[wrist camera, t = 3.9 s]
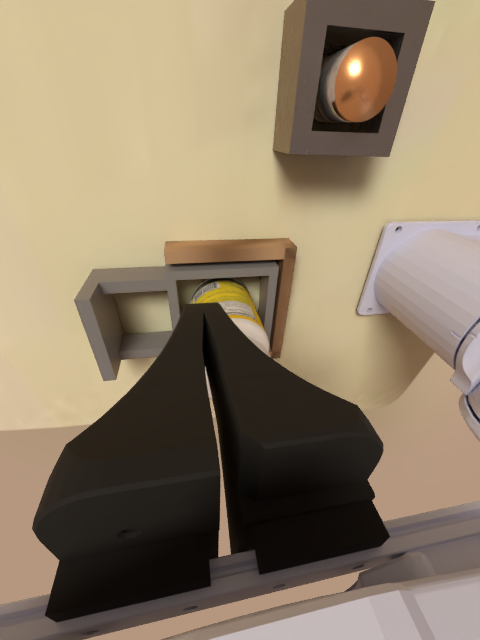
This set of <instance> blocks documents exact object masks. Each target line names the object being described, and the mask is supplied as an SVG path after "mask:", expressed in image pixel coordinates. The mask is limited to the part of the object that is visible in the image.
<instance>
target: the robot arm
mask: <svg viewBox="0 0 480 640" xmlns="http://www.w3.org/2000/svg"><path fill="white" fill-rule="evenodd" d="M397 227H398V230H397V231H395V230H396V228H397ZM367 309H369V310H367ZM357 313H358V314H360V315H373V314H386V313H391V314H393V315H394V316H395V317H396V318H397V319H398V320H399V321H400V322H402V323H403V324H404V325H405V326H406V327H407V328H408V329H409V330H410V331H412V332H413V333H414V334H415V335H416V336H417V337H418V338H419V339H421V340H422V341H423V342H424V343H425V344H426V345H427V346H428V347H430V348H431V349H432V350H433V351H434V352H435V353H436V354H437V355H439V356H440V357H441V358H442V359H443V360H444V361H445V362H447V363H448V364H449V365H450V366H451V367H452V368H453V369H454V370H455V372H454V374H453V376H452V377H451V378H450V381H451V382H452V383H453V384H454V385H455V386H456V387H458V388H459V389H460V390H461V391H462V392H463V394H462V395H461V397H460V399H459V409H460V411H461V414H462V416H463V418H464V420H465V422H466V423H467V425H468V427H469V428H470V430H471V431H472V433H473V434H474V435H475V437H476V438H477V439H478V440H479V441H480V220H449V221H396V222H389V223H387V224H386V225H385V226H384V228H383V231H382V234H381V237H380V240H379V244H378V247H377V250H376V253H375V256H374V259H373V262H372V265H371V268H370V271H369V274H368V277H367V280H366V283H365V286H364V289H363V292H362V295H361V298H360V301H359V305H358V308H357ZM205 367H206V372H207V376H208V381H209V386H210V390H211V395H212V400H213V404H214V409H215V414H216V419H217V425H218V433H219V443H220V451H221V460H222V469H223V478H224V489H225V498H226V508H227V518H228V527H229V538H230V547H231V555H228V556H222V557H218V538H219V537H218V536H219V535H218V534H219V526H220V525H219V523H220V466H219V458H218V449H217V443H216V437H215V431H214V426H213V420H212V413H211V408H210V401H209V395H208V388H207V381H206V374H205ZM382 453H383V442H382V441H381V439H380V438H379V436H378V435H377V433H376V431H375V430H374V428H373V426H372V425H371V423H370V422H369V420H368V419H367V418H366V416H365V415H364V414H363V412H362V411H361V410H360V408H359V407H358V406H357V405H355V404H353V403H351V402H348V401H346V400H344V399H342V398H339V397H337V396H335V395H333V394H331V393H328V392H326V391H324V390H322V389H320V388H318V387H316V386H315V385H313V384H311V383H309V382H307V381H305V380H304V379H302V378H300V377H298V376H297V375H295V374H293V373H292V372H290V371H289V370H287V369H286V368H284V367H283V366H281V365H280V364H278V363H277V362H275V361H274V360H273V359H271V358H270V357H269V356H268V355H266V354H265V353H264V352H263V351H261V350H260V349H259V348H258V347H257V346H256V345H255V344H254V343H253V342H252V341H251V340H250V339H249V338H248V337H247V336H246V335H245V334H244V333H243V332H242V331H241V330H240V329H239V328H238V327H237V326H236V324H235V323H234V322H233V321H232V320H231V318H230V317H229V316H228V315H227V313H226V312H225V311H224V309H223V308H222V306H221V305H220V304H219V303H218V302H213V303H194V304H185V305H184V306H183V309H182V313H181V316H180V318H179V320H178V323H177V325H176V327H175V329H174V331H173V333H172V335H171V337H170V338H169V340H168V342H167V343H166V345H165V347H164V348H163V350H162V351H161V353H160V354H159V356H158V357H157V359H156V360H155V361H154V363H153V364H152V365H151V366H150V368H149V369H148V370H147V372H146V373H145V374H144V375H143V376H142V377H141V378H140V380H139V381H138V382H137V383H136V384H135V385H134V386H133V387H132V388H131V389H130V391H129V392H128V393H127V394H126V395H124V396H123V397H122V398H121V399H120V400H119V401H118V402H117V403H116V404H115V405H114V406H113V407H112V408H111V409H110V410H109V411H107V412H106V413H105V414H104V415H103V416H102V417H101V418H100V419H98V420H97V421H96V422H95V423H93V424H92V425H91V426H89V427H88V428H87V429H86V430H84V431H83V432H82V433H81V434H79V435H78V436H77V437H76V438H74V439H73V440H72V441H70V442H69V443H68V444H66V446H65V447H64V449H63V451H62V453H61V455H60V457H59V459H58V461H57V463H56V465H55V467H54V469H53V471H52V473H51V475H50V477H49V480H48V482H47V485H46V488H45V490H44V493H43V496H42V498H41V501H40V504H39V507H38V510H37V512H36V515H35V518H34V522H33V527H32V529H33V531H34V533H35V535H36V536H37V538H38V539H39V541H40V542H41V543H42V544H44V546H45V547H46V548H47V549H48V550H49V551H51V552H52V553H53V554H54V555H55V556H56V557H57V558H58V559H59V560H60V561H59V565H58V568H57V572H56V576H55V580H54V583H53V587H52V590H51V594H47V595H42V596H38V597H34V598H29V599H25V600H19V601H15V602H10V603H6V604H1V605H0V640H83V639H87V638H91V637H95V636H99V635H103V634H107V633H111V632H115V631H119V630H123V629H127V628H131V627H135V626H139V625H143V624H147V623H151V622H155V621H159V620H163V619H167V618H172V617H175V616H180V615H184V614H188V613H192V612H195V611H200V610H204V609H208V608H212V607H216V606H220V605H224V604H228V603H232V602H236V601H240V600H244V599H248V598H252V597H256V596H260V595H264V594H268V593H272V592H276V591H280V590H284V589H288V588H292V587H296V586H300V585H304V584H309V583H313V582H316V581H321V580H324V579H328V578H333V577H337V576H341V575H345V574H349V573H352V572H357V571H361V570H365V569H368V570H366V571H363V572H361V573H359V577H358V580H357V581H356V582H355V583H354V585H352V586H351V587H350V588H349V589H347V590H346V591H344V592H341V593H336V594H331V595H326V596H321V597H317V598H312V599H308V600H304V601H300V602H295V603H291V604H286V605H282V606H279V607H274V608H270V609H267V610H263V611H259V612H255V613H251V614H248V615H244V616H240V617H236V618H233V619H229V620H225V621H222V622H218V623H215V624H212V625H208V626H204V627H201V628H198V629H194V630H191V631H188V632H185V633H181V634H178V635H175V636H171V637H168V638H165V639H162V640H480V501H476V502H472V503H467V504H462V505H458V506H453V507H448V508H444V509H439V510H434V511H430V512H426V513H421V514H416V515H412V516H407V517H403V518H398V519H393V520H388V521H384V522H383V521H382V519H381V518H380V516H379V514H378V512H377V510H376V508H375V506H374V504H373V502H372V500H373V499H374V498H375V494H374V491H373V489H372V488H371V486H370V485H369V482H368V480H367V479H368V478H369V476H370V475H371V473H372V472H373V470H374V469H375V467H376V465H377V464H378V462H379V460H380V458H381V456H382ZM369 568H371V569H369Z"/></svg>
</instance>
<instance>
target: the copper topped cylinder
mask: <svg viewBox="0 0 480 640" xmlns="http://www.w3.org/2000/svg"><path fill="white" fill-rule="evenodd" d="M396 76H397V61H396V56H395V53H394V51H393V48H392V47H391V45H390V44H389V43H388V42H387V41H386V40H384V39H382V38H380V37H369V38H366V39H363V40H361V41H359V42H357V43H355V44H352V45H350V46H348V47H346V48H344V49H342V50H340V51H338V52H335V53H333V54H331V55H329V56H327V57H325V58H323V59H322V64H321V70H320V77H319V84H318V91H317V97H316V104H315V111H314V117H313V118H314V119H315V120H317V121H319V122H323V123H339V122H363V121H366V120H369V119H371V118H372V117H374V116H375V115H377V114H378V113H379V112H380V111H381V110H382V109H383V107H384V106H385V105H386V103H387V102H388V100H389V98H390V96H391V94H392V91H393V89H394V86H395V82H396Z"/></svg>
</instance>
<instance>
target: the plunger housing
mask: <svg viewBox="0 0 480 640" xmlns="http://www.w3.org/2000/svg"><path fill="white" fill-rule="evenodd" d="M434 4H435V1H429V0H294V2H293V3H292V4H291V5H290V6H289V7H288V8H287V9H286V10H285V15H284V26H283V38H282V50H281V61H280V73H279V85H278V96H277V108H276V120H275V132H274V143H273V150H274V151H278V152H282V153H286V154H294V155H336V156H379V157H389V156H390V152H391V149H392V145H393V142H394V139H395V135H396V132H397V129H398V125H399V122H400V118H401V115H402V112H403V108H404V105H405V102H406V98H407V95H408V91H409V88H410V85H411V81H412V78H413V75H414V71H415V68H416V64H417V61H418V58H419V54H420V51H421V47H422V44H423V41H424V37H425V34H426V31H427V27H428V24H429V20H430V17H431V14H432V10H433V7H434ZM369 37H380V38H382V39H384V40H386V41H387V42H388V43H389V44H390V45H391V47H392V48H393V51H394V53H395V56H396V61H397V76H396V82H395V86H394V89H393V91H392V94H391V96H390V98H389V100H388V102H387V103H386V105H385V106H384V107H383V109H382V110H381V111H380V112H379V113H378V114H377V115H375V116H374V117H372V118H371V119H369V120H366V121H363V122H351V126H350V130H349V132H328V131H312V124H313V117H314V111H315V104H316V97H317V91H318V84H319V77H320V70H321V64H322V57H323V50H324V45H334V46H345V47H348V46H350V45H352V44H355V43H357V42H359V41H361V40H363V39H366V38H369Z"/></svg>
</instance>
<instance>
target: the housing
mask: <svg viewBox="0 0 480 640" xmlns="http://www.w3.org/2000/svg"><path fill="white" fill-rule="evenodd" d="M296 252H297V247H296V246H295V245H294V243H293V242H292V241H291V240H290V239H289V238H280V239H244V240H208V241H172V242H165V250H164V254H165V261H166V264H180V263H204V262H229V261H254V260H275V262H276V264H277V265H278V266H279V270H278V278H277V287H276V295H275V303H274V311H273V320H272V328H271V336H270V344H269V355H270V358H280V354H281V348H282V342H283V335H284V329H285V322H286V316H287V309H288V303H289V297H290V290H291V284H292V277H293V271H294V264H295V258H296Z"/></svg>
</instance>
